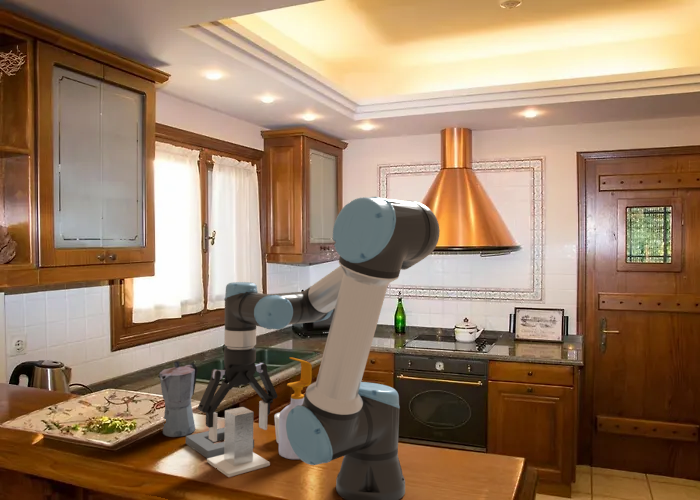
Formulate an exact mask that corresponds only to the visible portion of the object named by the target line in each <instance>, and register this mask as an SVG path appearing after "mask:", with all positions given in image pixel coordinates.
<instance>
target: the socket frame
mask: <svg viewBox="0 0 700 500" xmlns="http://www.w3.org/2000/svg"><path fill="white" fill-rule="evenodd" d="M224 435H225V426H224V427H220V428H217V441H216V442H213V441H212V440H210V439H209V430H207V431H203V432H198V433H193V434H188V435H185V444H186V445H187V446H189V447H190V448H191V449H192V450H194V451H196V452H197V453H198V454H200V455H201V456H203V457H204V458H206V460H207V459H208V458H212V457H215V456H219V455H223V454H224V441H223V440H224ZM219 441H221V442H219ZM254 447H255V439H254V438H253V448H254Z"/></svg>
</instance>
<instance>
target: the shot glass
mask: <svg viewBox="0 0 700 500" xmlns="http://www.w3.org/2000/svg"><path fill="white" fill-rule="evenodd" d="M280 412H281V411H280ZM280 412H276V413H275V414H274V416H273V417H274V428H275V442H276V443H277V444H279V415H280Z"/></svg>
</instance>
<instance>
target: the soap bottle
mask: <svg viewBox="0 0 700 500" xmlns="http://www.w3.org/2000/svg"><path fill="white" fill-rule="evenodd" d="M289 359H290V360H292V361H296V362H299V363H300V379H299V380H298V381H294V382H289V383H287V384H286V386H287V387H289V388H292V389H291V390H293V391H294V393H293V394H292V393H291V396H290V403H289V404H288V405H286V406H285V407H284V408H283V409H282V410H281V411H280V415H279V443H278V454H279V456H280V457H282V458H285V459H289V460H301V459H300V458H299V457H298V456H297V455H296V454H295V452H294V451H293V449H292V447H291V445H290V442H289V440H288V436H287V431H286V420H287V416H288V413H289V412H290V410H291V409H293V408H294V407H296V406H298V405H300V406H301V405H302V404H303V401H304V397H305V394H303V393H302V391H303V390H304V388H305V387H308V386H309V385H310V384H312V380H313V379H312V377H313V376H312V375H313V374H312V373H313V371H312V370H313V369H312V368H313V366H312V363H311V362H309V361H306V360H303V359H299V358H295V357H291V356H289Z"/></svg>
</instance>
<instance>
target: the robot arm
mask: <svg viewBox="0 0 700 500" xmlns="http://www.w3.org/2000/svg"><path fill="white" fill-rule="evenodd" d="M439 224H440V223H439V221H438V219H437V216H436V215H435V213H434V212H433V210H432V209H430V208H429V206H426V205H425V204H423V203H421V202H419V201H415V200H403V199H395V198H386V197H379V196H370V197H366V196H365V197H359V198H358V197H357V198H355V199H353V200H351V201H350V202H348V203H347V204H346V205H344V206H343V207H342V209H341V210H340V211H339V213H338V214H337V217H336V218H335V221H334V224H333V229H332V240H333V241H334V244H333V246H334V249H335V251H336V253H337V254H338V256H339V258H338V264H339V266H338V267H336V268H335V269H333V270H332V271H331V272H329V273H328V274H326V275H325V276H324V277H322V278H321V279H319V280H318V281H316V282H315V283H313V284H312V285H310V286H309V287H308V288H306V289H305V290H303V291H294V292H282V293H259V292H258V286H257V284H256V283H255V282H247V281H236V282H235V281H234V282H229V283H227V284H226V285H225V295H224V296H225V297H224V298H223V299H224V346H225V347H224V350H223V352H224V353H223V354H224V355H223V362H224V367H223V369H216V368H213V369H211V371H210V372H211V374H210V379H209V381H208V384H207V385H206V388H205V390H204V393H203V395H202V398H201V399H200V402H199V404H198V406H197V410H198V411H200V412H202V413H203V414H205V425H206V427H208V431H209V439H210V440H212V441H213V442H212V443H217V442H218V441H217V429H218V412H216V410H217V409H218V408H219V406H220V405H221V403H222V402H223V400H224V398H225V397H226V396H227V395H228V393H229V392H230V391H231V390H232V389H233V388H234V387H240V386H247V385H248V384H249V386H250V387H251V388H252V389H253V390H254V391H255V393H257V395H258V396H259V398H261V400H260V401H258V402H259V403H258V404H259V405H258V409H259V410H258V428H260V429H262V430H264V431H267V430H268V416H269V415H270V413H271V404H272V403H273V402H274V400H276V399H278V393H277V391H276V389H275V386H274V384H273V382H272V380H271V378H270V376H269V373H268V367H267V366H268V365H267V364H266V363H264V362H260V361H259V362H258V363H257V364H256V360H257V359H256V358H257V348H256V347H255V346H256V345H257V327H261V328H264V329H266V330H283V329H284V328H286V326H290V325H298V324H305V323H307V324H308V323H318V322H321V321H325V320H327V319H329V318H330V317H331V316H332V318H331V322H330V327H329V330H328V334H327V338H326V341H325V345H324V350H323V353H322V358H321V361H320V364H319V365H320V366H319V370H318V374H317V377H316V381H314V382H311V384H310V385H309V386H306V387H307V388H305V389H306V390H305V394H304V401H303V404H302V405H301V406H300V405H298V406H296V407H294V408H293V409H291V410H290V412H289V413H288V416H287V420H286V431H287V436H288V440H289V442H290V445H291V447H292V449H293V451H294V452H295V454H296V455H297V456H298V457H299V458H300V459H299V460H300V461H302V462H304V463H305V464H307V465H310V466H316V465H321V464H322V465H323V464H328V463H330V462H331V461H334V460H337V459H339V458H342V457H343V458H342V461H341V462H342V463H341V466H340V469H339V472H338V473H337V476H336V481H335V482H336V484H335V485H336V486H335V490H336V493H337V494H338V496H340V497H341V498H343V499H344V500H401V499H402V498H403V497H404V496H405V494H406V479H405V476H404V475H403V470H402V466H401V463H400V459H399V454H398V453H399V427H400V426H399V425H400V409H401V406H400V396H399V393H398V391H397V390H396V389H395V388H394V387H391V386H389V385H386V384H382V383H381V384H380V383H376V382H368V381H367V382H366V381H363V380H362V379H363V376H364V373H365V370H366V365H367V362H368V358H369V355H370V352H371V348H372V344H373V340H374V337H375V333H376V329H377V326H378V323H379V319H380V315H381V311H382V307H383V304H384V300H385V296H386V294H387V293H386V292H387V289H388V286H389V284H390V283H392V282H394V281H396V280H398V279H399V277H400V273H401V271H405V270H408V269H410V268H411V267H413V266H415V265H416V264H418V263H420V262H422V261H423V260H425V259H426V258H427V257H428V256H430V254H432V252H433V251H434V250H435V249H436V247H437V245H438V242H439V239H440V231H441V230H440V225H439ZM332 313H333V314H332ZM256 373H257V374H258V375H259V377H260V380H261V382H262V384H263V387H262V386H261V384H260V383H259V382H258V380H257V379H256V378H255V376H254V375H255V374H256ZM223 376H224V379H223ZM221 379H223V380H222V382H221ZM220 382H221V385H220ZM219 385H220V386H219ZM218 387H219V388H218ZM264 388H265V390H264Z"/></svg>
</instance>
